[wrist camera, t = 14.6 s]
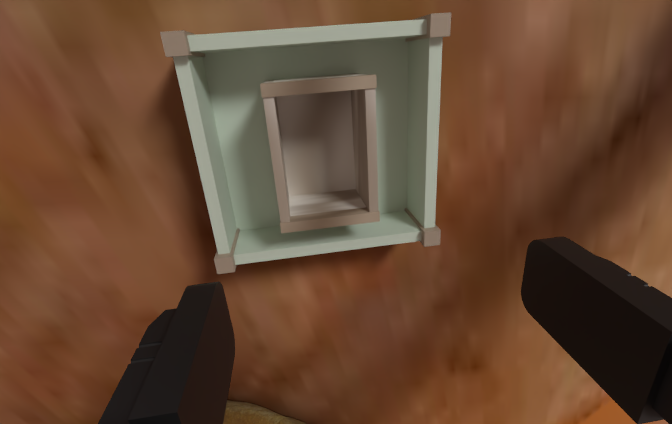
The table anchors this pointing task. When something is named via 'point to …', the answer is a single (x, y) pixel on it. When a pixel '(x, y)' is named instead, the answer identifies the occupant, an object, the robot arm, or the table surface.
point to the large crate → (253, 142)
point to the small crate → (323, 149)
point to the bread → (253, 415)
